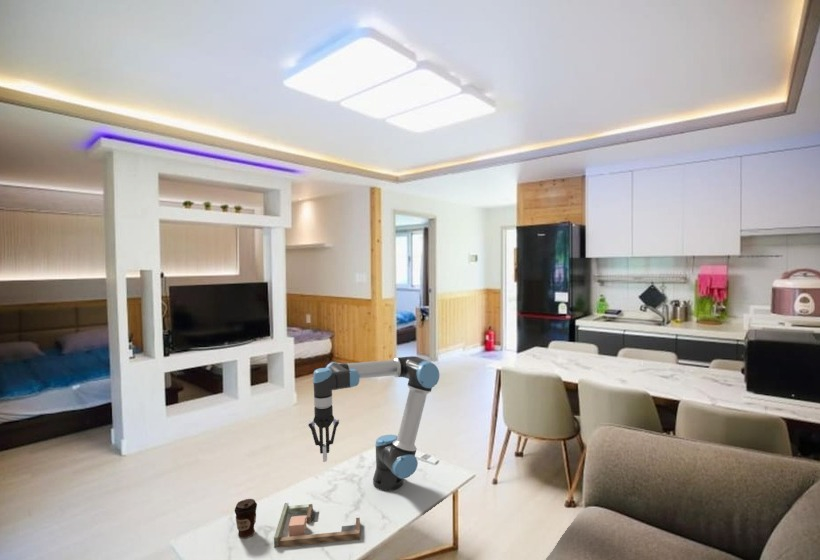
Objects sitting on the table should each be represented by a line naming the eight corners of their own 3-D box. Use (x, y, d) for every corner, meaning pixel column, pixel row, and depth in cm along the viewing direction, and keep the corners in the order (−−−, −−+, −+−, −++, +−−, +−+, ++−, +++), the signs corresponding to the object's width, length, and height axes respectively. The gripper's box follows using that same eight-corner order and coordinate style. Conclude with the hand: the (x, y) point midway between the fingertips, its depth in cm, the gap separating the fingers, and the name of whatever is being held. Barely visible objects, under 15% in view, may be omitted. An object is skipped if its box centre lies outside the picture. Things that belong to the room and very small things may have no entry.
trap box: (359, 505, 186) (359, 496, 186) (359, 539, 163) (359, 529, 163) (285, 511, 182) (284, 503, 182) (274, 547, 159) (273, 537, 159)
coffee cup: (249, 542, 163) (248, 510, 162) (230, 540, 164) (229, 508, 164) (261, 528, 171) (260, 498, 170) (243, 526, 173) (242, 496, 172)
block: (306, 526, 172) (306, 515, 171) (304, 536, 166) (303, 524, 166) (291, 528, 171) (291, 516, 171) (289, 537, 165) (288, 525, 165)
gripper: (339, 401, 177) (341, 454, 179) (308, 403, 176) (310, 457, 177) (338, 407, 170) (340, 463, 171) (306, 409, 169) (308, 465, 170)
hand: (325, 460), depth 174 cm, fingers closed
